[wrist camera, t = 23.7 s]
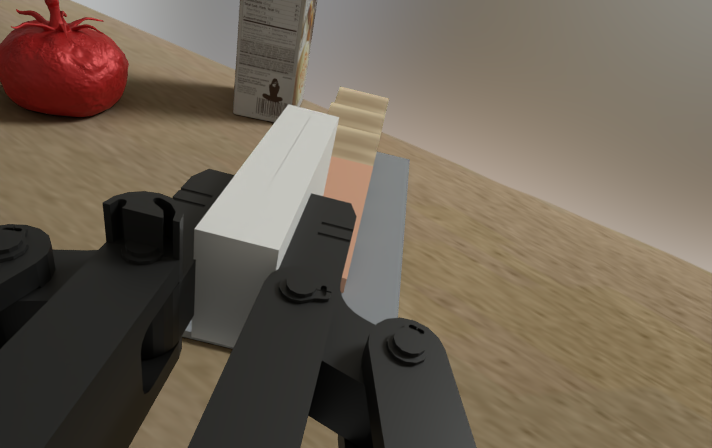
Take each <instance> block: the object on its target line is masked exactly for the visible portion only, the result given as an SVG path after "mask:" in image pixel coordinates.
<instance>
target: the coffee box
mask: <svg viewBox="0 0 712 448" xmlns="http://www.w3.org/2000/svg"><path fill="white" fill-rule="evenodd" d="M316 5H317V0H240V9H239V25H238V41H237V56H236V71H235V86H234V104H233V113H234V114H236V115H241V116H246V117H250V118H255V119H260V120H265V121H270V122H276V120H277V119H278V118H279V116H280V115H281V114H282V112H283V111H284V110H285V108H286V107H287V106H288V104H289V105H293V106H297V107H299V106H300V104H301V102H302V100H303V95H304V88H305V82H306V75H307V68H308V61H309V54H310V47H311V39H312V33H313V25H314V19H315V12H316Z"/></svg>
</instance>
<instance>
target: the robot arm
mask: <svg viewBox="0 0 712 448" xmlns="http://www.w3.org/2000/svg"><path fill="white" fill-rule="evenodd" d="M338 121H339V117H336V116H332V115H328V114H324V113H321V112H317V111H313V110H309V109H305V108H301V107H297V106H293V105H289V104H288V106H287V107H286V108H285V110H284V111H283V112H282V114H281V115H280V116H279V118H278V119H277V120H276V122H275V123H274V124H273V126H272V127H271V128H270V130H269V131H268V132H267V134H266V135H265V136H264V137H263V139H262V140H261V141H260V143H259V144H258V145H257V147H256V148H255V149H254V151H253V152H252V153H251V155H250V156H249V157H248V159H247V160H246V161H245V163H244V164H243V165H242V167H241V168H240V169H239V171H238V172H237V173H236V175H231V174H227V173H223V172H219V171H215V170H212V169H207V170H205V171H203V172H201V173H198V174H196V175H194V176H192V177H191V178H190V179H189V180H188V181H187V182H186V183H185V184H184V185H183V186H182V187H181V190H179V191H178V192H177V193H176V194H175V195H174V196H173V198H170V197H168V196H165V195H163V194H160V193H153V192H146V191H141V192H128V193H124V194H120V195H116V196H113V197H112V198H110V199H108V200H107V201H105V202H103V211H104V222H105V232H106V243H105V244H104V245H103V246H102V247H101V248H100V249H99V250H88V251H84V250H52V245H51V241H50V238H49V235H47V234H46V233H45V232H43V231H42V230H41V229H39V228H35V227H31V226H28V225H15V224H7V225H0V448H128V447H129V445H130V444H131V442H132V440H133V438H134V437H135V435H136V433H137V431H138V429H139V428H140V426H141V424H142V422H143V421H144V419H145V417H146V415H147V414H148V412H149V410H150V408H151V406H152V405H153V403H154V401H155V399H156V398H157V396H158V394H159V392H160V391H161V389H162V387H163V385H164V383H165V382H166V380H167V378H168V376H169V375H170V373H171V371H172V369H173V368H174V366H175V364H176V362H177V361H178V359H179V356H180V352H181V349H182V335H183V333H184V331H185V330H186V328H187V326H188V325H189V323H190V321H191V320H192V329H191V337H194V338H198V339H202V340H206V341H210V342H214V343H218V344H222V345H226V346H230V347H234V348H233V350H232V352H231V354H230V357H229V359H228V361H227V363H226V365H225V368H224V370H223V372H222V374H221V376H220V378H219V381H218V383H217V385H216V387H215V389H214V391H213V394H212V396H211V398H210V400H209V402H208V404H207V407H206V409H205V411H204V413H203V415H202V418H201V420H200V422H199V424H198V426H197V428H196V431H195V433H194V435H193V437H192V439H191V441H190V444H189V446H188V448H300V446H301V442H302V438H303V434H304V430H305V426H306V422H307V418H308V416H310V417H312V418H313V419H315V420H316V421H318V422H320V423H321V424H323V425H324V426H326V427H328V428H329V429H331V430H332V431H334V432H336V433H337V434H338V447H339V448H477V447H476V444H475V441H474V438H473V435H472V432H471V429H470V426H469V423H468V419H467V416H466V413H465V410H464V407H463V404H462V401H461V398H460V395H459V391H458V388H457V385H456V382H455V379H454V376H453V373H452V370H451V366H450V363H449V360H448V357H447V354H446V351H445V349H444V347H443V345H442V343H441V341H440V339H439V338H438V337H437V336H436V335H435V334H434V333H433V332H432V331H431V330H430V329H429V328H427V327H426V326H424V325H422V324H420V323H418V322H416V321H413V320H409V319H404V318H389V319H385V320H383V321H381V322H379V323H377V324H376V325H375V324H373V323H371V322H369V321H367V320H366V319H364V318H362V317H361V316H359V315H358V314H356V313H355V312H354V311H353V310H352V309H351V308H350V307H348V306H347V304H346V302H345V301H344V299H343V298H342V294H341V291H340V285H341V279H342V275H343V271H344V267H345V263H346V259H347V255H348V251H349V246H350V242H351V238H352V234H353V230H354V226H355V222H356V218H357V216H356V214H355V211H354V209H353V207H352V204H351V203H348V202H344V201H340V200H336V199H332V198H328V197H324V196H323V195H324V190H325V185H326V180H327V175H328V170H329V165H330V160H331V155H332V150H333V146H334V141H335V136H336V131H337V126H338Z"/></svg>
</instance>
